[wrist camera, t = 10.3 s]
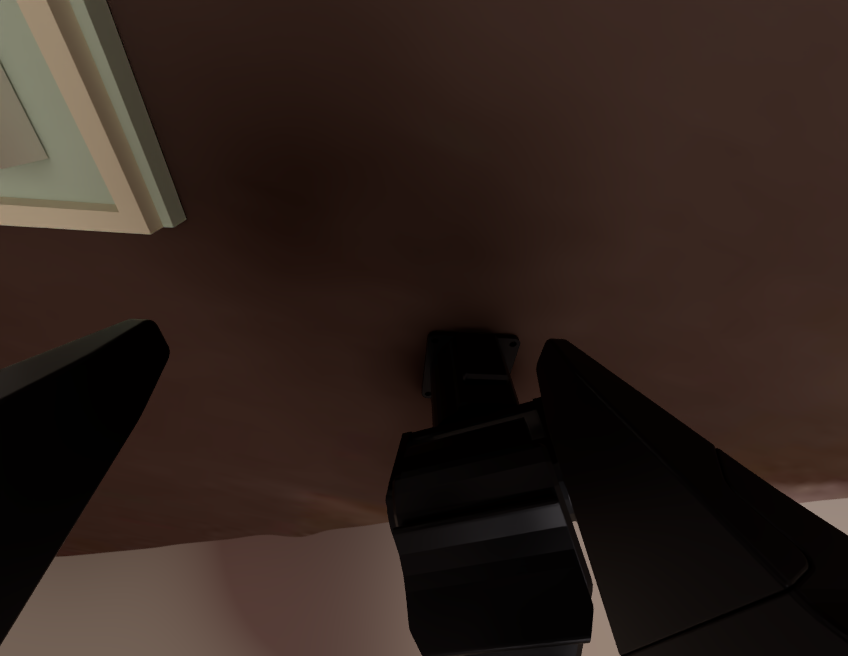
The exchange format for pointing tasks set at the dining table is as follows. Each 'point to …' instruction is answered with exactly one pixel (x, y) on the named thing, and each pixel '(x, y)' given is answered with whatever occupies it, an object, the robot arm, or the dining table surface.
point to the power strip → (16, 130)
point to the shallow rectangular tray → (81, 125)
